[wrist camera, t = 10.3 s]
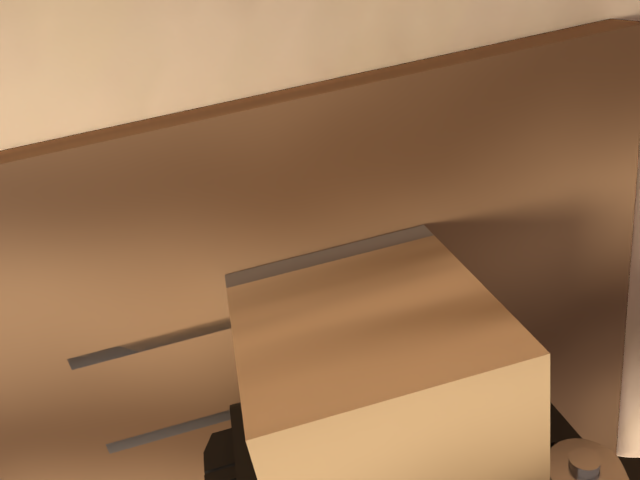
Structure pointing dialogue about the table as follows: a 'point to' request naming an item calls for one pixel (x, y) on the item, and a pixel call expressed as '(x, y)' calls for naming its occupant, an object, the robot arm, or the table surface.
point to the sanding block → (386, 368)
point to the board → (310, 237)
